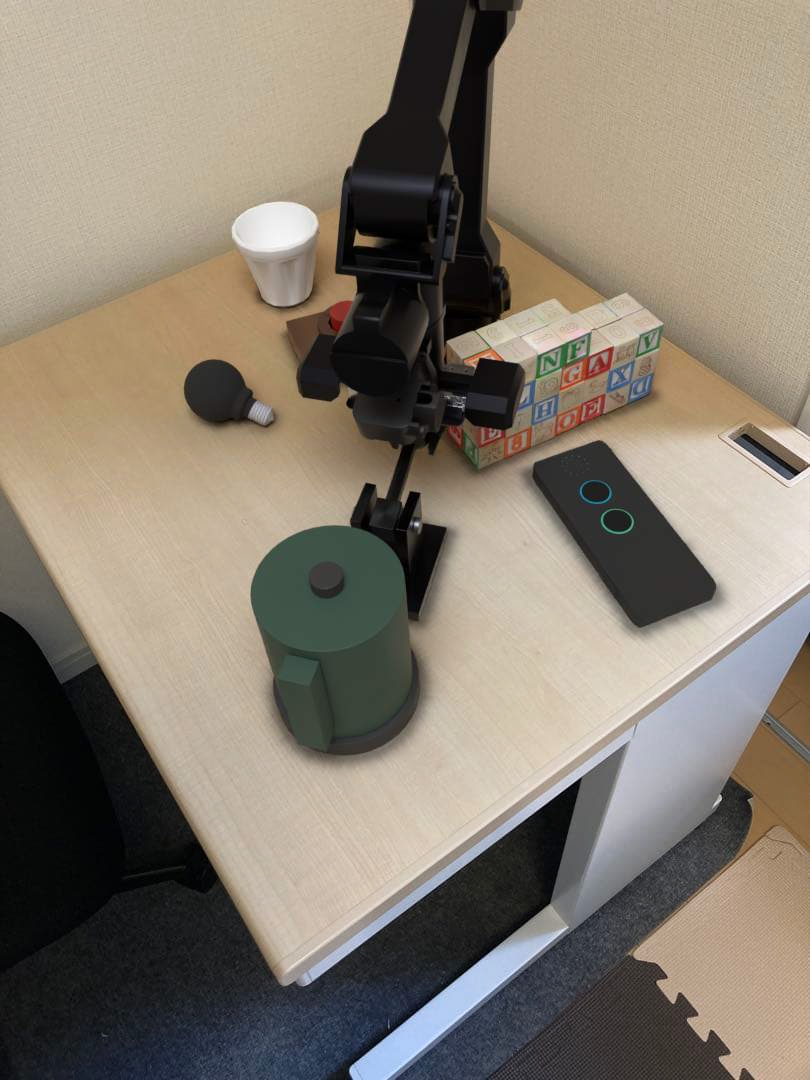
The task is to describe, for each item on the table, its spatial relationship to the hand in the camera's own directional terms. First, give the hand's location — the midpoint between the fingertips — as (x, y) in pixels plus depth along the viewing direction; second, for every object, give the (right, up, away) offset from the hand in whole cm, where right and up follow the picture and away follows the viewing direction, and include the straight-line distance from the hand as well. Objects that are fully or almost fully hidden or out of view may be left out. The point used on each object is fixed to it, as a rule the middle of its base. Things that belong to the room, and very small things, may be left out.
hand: (414, 449), depth 83 cm
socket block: (-7, +13, +20) cm, 25 cm away
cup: (-15, +22, +27) cm, 38 cm away
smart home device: (+19, -8, +2) cm, 21 cm away
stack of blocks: (+14, +5, +12) cm, 19 cm away
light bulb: (-19, +5, +14) cm, 25 cm away
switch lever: (-1, -3, -2) cm, 4 cm away
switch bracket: (-2, -11, 0) cm, 11 cm away
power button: (-7, +16, +17) cm, 24 cm away
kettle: (-6, -21, -7) cm, 23 cm away
